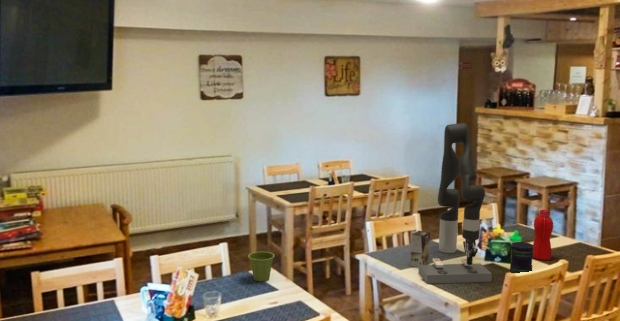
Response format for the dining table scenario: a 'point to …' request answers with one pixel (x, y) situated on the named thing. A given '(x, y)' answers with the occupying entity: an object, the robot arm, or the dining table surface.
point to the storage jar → (521, 257)
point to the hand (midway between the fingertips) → (469, 264)
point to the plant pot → (261, 265)
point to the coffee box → (420, 248)
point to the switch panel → (454, 273)
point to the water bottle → (542, 236)
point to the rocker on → (465, 262)
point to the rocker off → (437, 262)
